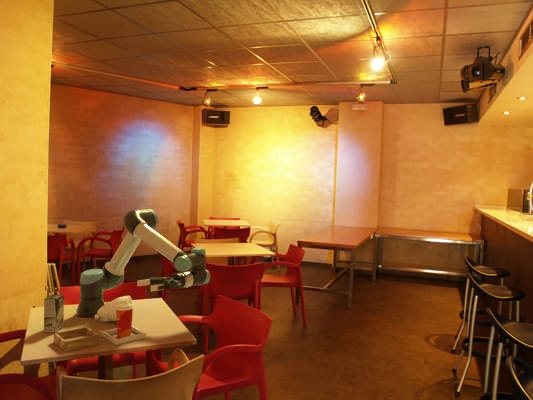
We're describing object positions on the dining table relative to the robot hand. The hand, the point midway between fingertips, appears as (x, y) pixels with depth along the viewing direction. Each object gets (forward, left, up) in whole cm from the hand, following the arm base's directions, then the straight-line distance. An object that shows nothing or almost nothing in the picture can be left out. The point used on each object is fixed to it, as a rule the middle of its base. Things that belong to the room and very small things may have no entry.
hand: (144, 286), depth 218 cm
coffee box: (-30, -32, -23) cm, 49 cm away
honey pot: (-20, +3, -16) cm, 25 cm away
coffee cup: (0, -10, -23) cm, 25 cm away
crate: (-5, -30, -23) cm, 38 cm away
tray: (0, -10, -23) cm, 25 cm away
